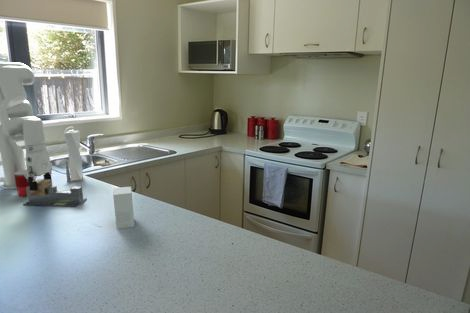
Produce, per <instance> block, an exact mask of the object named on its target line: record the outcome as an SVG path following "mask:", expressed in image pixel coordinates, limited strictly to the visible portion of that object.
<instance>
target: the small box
mask: <svg viewBox="0 0 470 313" xmlns="http://www.w3.org/2000/svg"><path fill="white" fill-rule="evenodd" d="M132 191H133V190H132V186H123V187H121V186H120V187H114V188H113V191H112V192H113V195H112V196H113V197H112V198H113V206H114V214H115V217H114V218H115V226H116V229H117V230H118V229H119V230H120V229H127V228H134V227H135V216H134V203H133V194H132V193H133V192H132Z"/></svg>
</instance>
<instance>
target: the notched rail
mask: <svg viewBox="0 0 470 313" xmlns="http://www.w3.org/2000/svg"><path fill="white" fill-rule="evenodd" d="M26 191H27V197H26V198H27V202H24V203H23V204H22V205H23V206H24V207H25V206H30V207H31V206H32V207H33V206H34V207H58V208H59V207H61V208H62V207H64V208H65V207H67V208H77V207H79V206H80V205H81V204H84V202H86V201H87V200H88V198H87V197H86V198H85V197H84V194H83V187H82V186H76V185H75V186H72V187H71V188H69V190H60V189H59V190H58V187H57V185H52V186H49V187H47V188H45V196H31V193H30V188H29V186H28V187H26Z"/></svg>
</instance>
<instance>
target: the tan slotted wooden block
mask: <svg viewBox="0 0 470 313" xmlns="http://www.w3.org/2000/svg"><path fill="white" fill-rule="evenodd" d="M35 181H37V188H38V190H37V191H30V193H31V196H45V188H47V187H49V186H53V180H52V178H51V179H44V178H36V180H35Z"/></svg>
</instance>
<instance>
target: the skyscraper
mask: <svg viewBox="0 0 470 313" xmlns="http://www.w3.org/2000/svg"><path fill="white" fill-rule="evenodd" d="M70 128H72V129H70ZM68 129H69V130H68ZM67 130H68V131H67ZM63 134H64V141H65V144H66V149H67V152H68V153H67V154H68V159H67V158H65V172H66V173H65V174H66V183H76V182H77V183H79V182H83V179H84V172H83V163H82V157H81V156H82V155H81V151H80V147H81V146H80V143H81V141H80V140H81V137H80V134H81V133H80V130H79V129H78V130H77V129H76V130H74V126H72V125H71V126H68V127H66V128H65V130H64V131H63Z"/></svg>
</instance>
